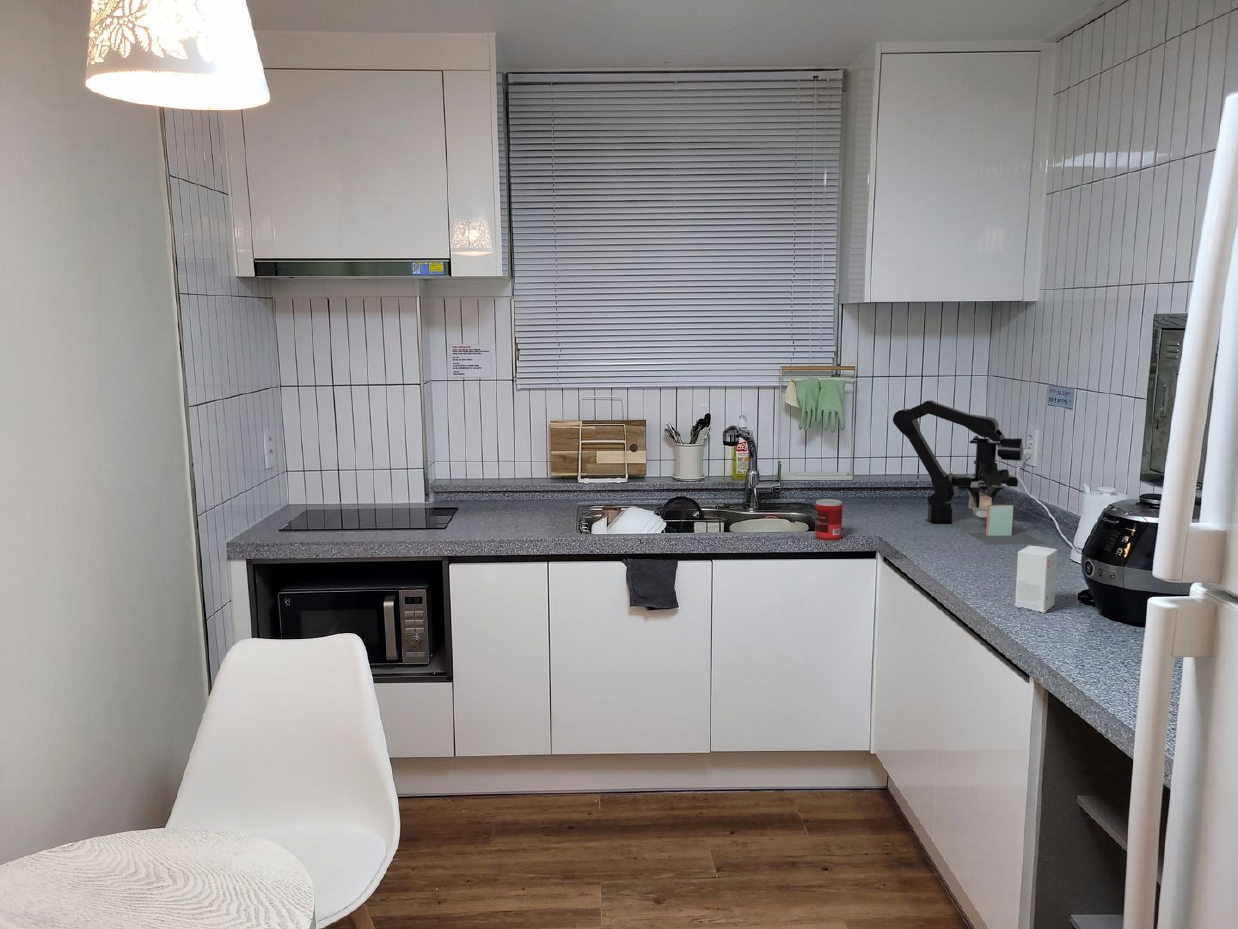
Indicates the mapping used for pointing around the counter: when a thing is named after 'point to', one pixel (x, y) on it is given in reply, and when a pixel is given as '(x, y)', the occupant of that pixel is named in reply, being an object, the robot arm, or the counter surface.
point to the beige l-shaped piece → (980, 505)
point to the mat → (1007, 539)
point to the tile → (999, 520)
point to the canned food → (828, 519)
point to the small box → (1036, 578)
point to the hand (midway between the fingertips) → (982, 508)
